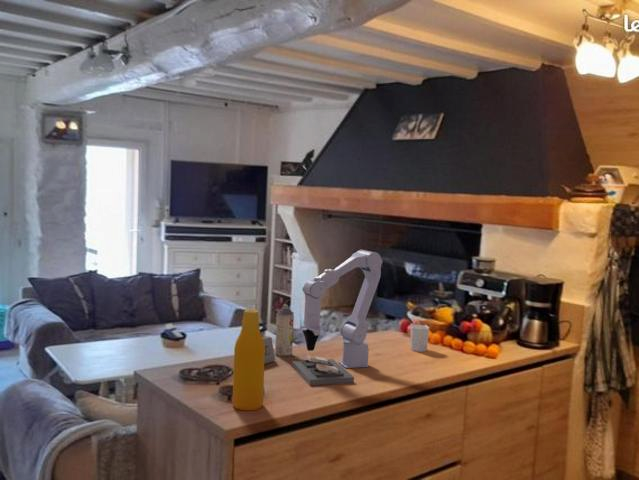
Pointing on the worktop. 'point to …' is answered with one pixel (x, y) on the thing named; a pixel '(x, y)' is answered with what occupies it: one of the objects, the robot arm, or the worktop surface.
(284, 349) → the aerosol can
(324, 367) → the front rocker
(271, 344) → the electrical switch
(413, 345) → the white cup
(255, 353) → the beer bottle
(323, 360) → the back rocker
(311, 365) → the breaker panel
